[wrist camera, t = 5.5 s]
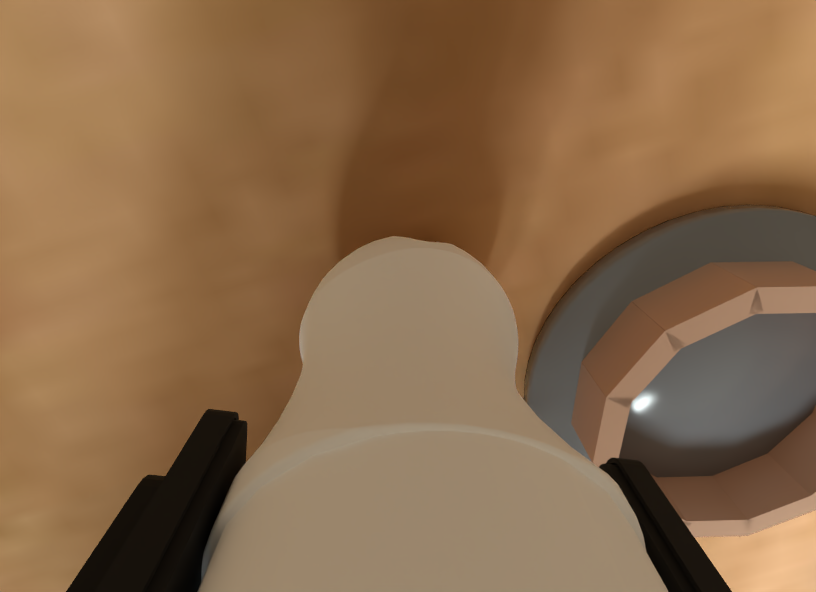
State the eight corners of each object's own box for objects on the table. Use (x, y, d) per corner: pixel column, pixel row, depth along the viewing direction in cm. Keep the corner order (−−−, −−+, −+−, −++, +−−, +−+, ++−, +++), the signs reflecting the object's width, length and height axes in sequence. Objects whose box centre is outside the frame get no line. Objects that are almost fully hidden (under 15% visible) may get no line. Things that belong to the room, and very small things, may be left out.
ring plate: (902, 423, 23) (986, 478, 19) (596, 545, 26) (625, 610, 22) (851, 124, 17) (958, 131, 14) (463, 325, 20) (476, 370, 17)
